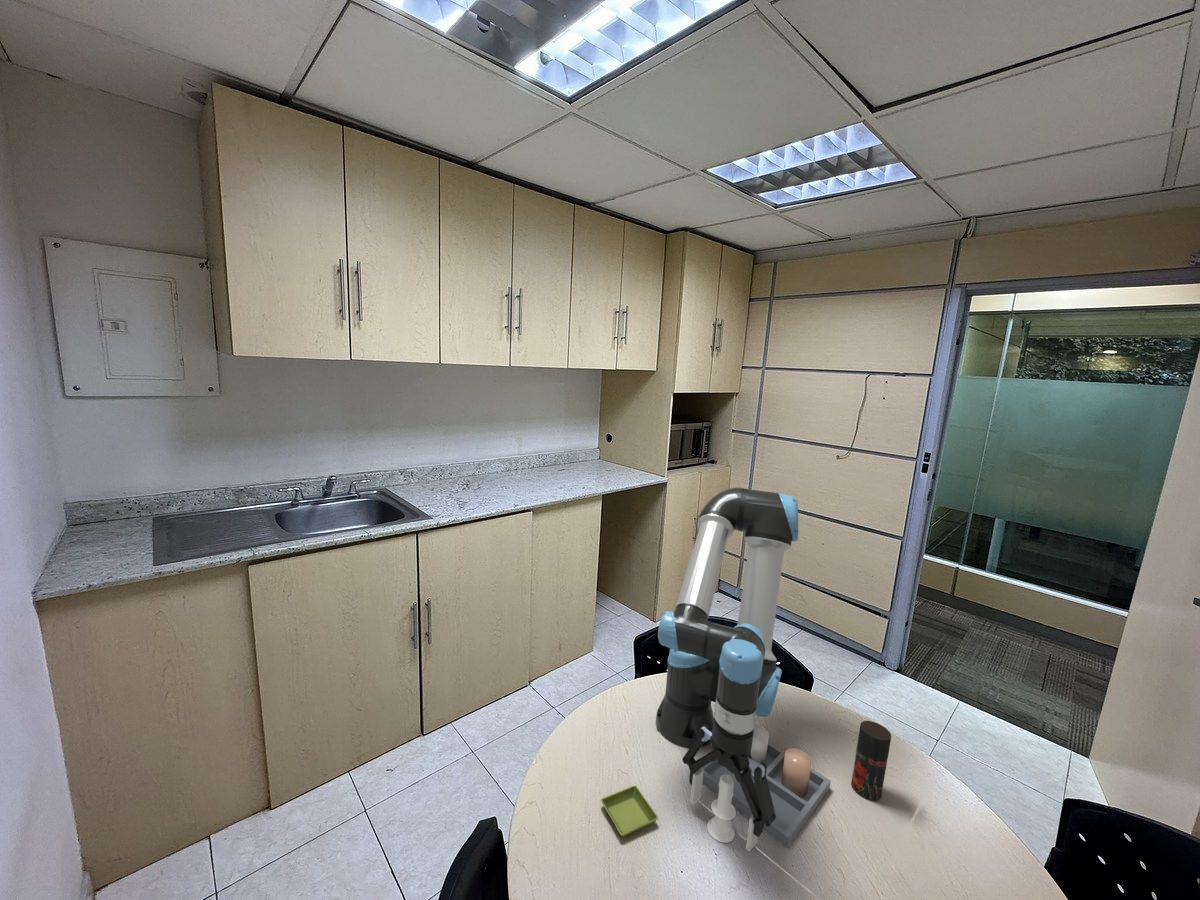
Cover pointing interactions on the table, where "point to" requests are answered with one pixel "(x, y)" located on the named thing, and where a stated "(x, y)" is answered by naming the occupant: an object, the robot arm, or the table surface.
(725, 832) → the white peg
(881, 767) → the deodorant
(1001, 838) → the table surface
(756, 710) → the robot arm
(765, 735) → the glossy white egg
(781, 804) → the holder tray
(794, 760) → the glossy peach egg
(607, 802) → the green square dish
